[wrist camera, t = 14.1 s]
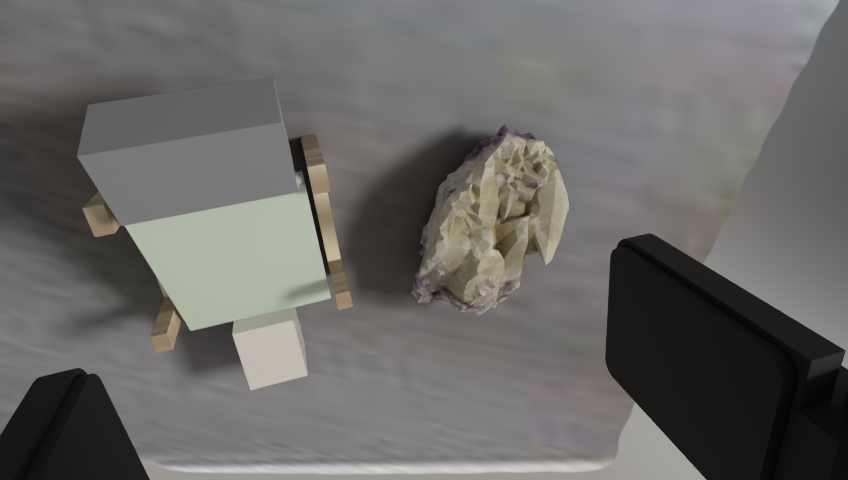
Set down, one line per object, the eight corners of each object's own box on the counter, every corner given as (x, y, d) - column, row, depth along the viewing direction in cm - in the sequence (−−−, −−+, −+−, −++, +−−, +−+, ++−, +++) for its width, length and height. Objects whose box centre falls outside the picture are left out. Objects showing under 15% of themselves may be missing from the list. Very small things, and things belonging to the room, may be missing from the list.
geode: (529, 139, 55) (397, 132, 48) (596, 124, 46) (447, 114, 39) (532, 300, 55) (402, 316, 49) (598, 315, 47) (452, 336, 40)
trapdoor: (78, 106, 32) (66, 158, 28) (281, 75, 34) (290, 120, 31) (190, 298, 47) (190, 346, 44) (324, 269, 49) (334, 312, 46)
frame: (119, 168, 41) (82, 208, 33) (315, 134, 43) (325, 163, 36) (172, 308, 46) (152, 371, 38) (343, 270, 49) (357, 322, 41)
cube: (232, 334, 43) (250, 390, 46) (292, 320, 44) (307, 375, 47) (235, 303, 48) (252, 356, 50) (291, 291, 49) (304, 343, 51)
